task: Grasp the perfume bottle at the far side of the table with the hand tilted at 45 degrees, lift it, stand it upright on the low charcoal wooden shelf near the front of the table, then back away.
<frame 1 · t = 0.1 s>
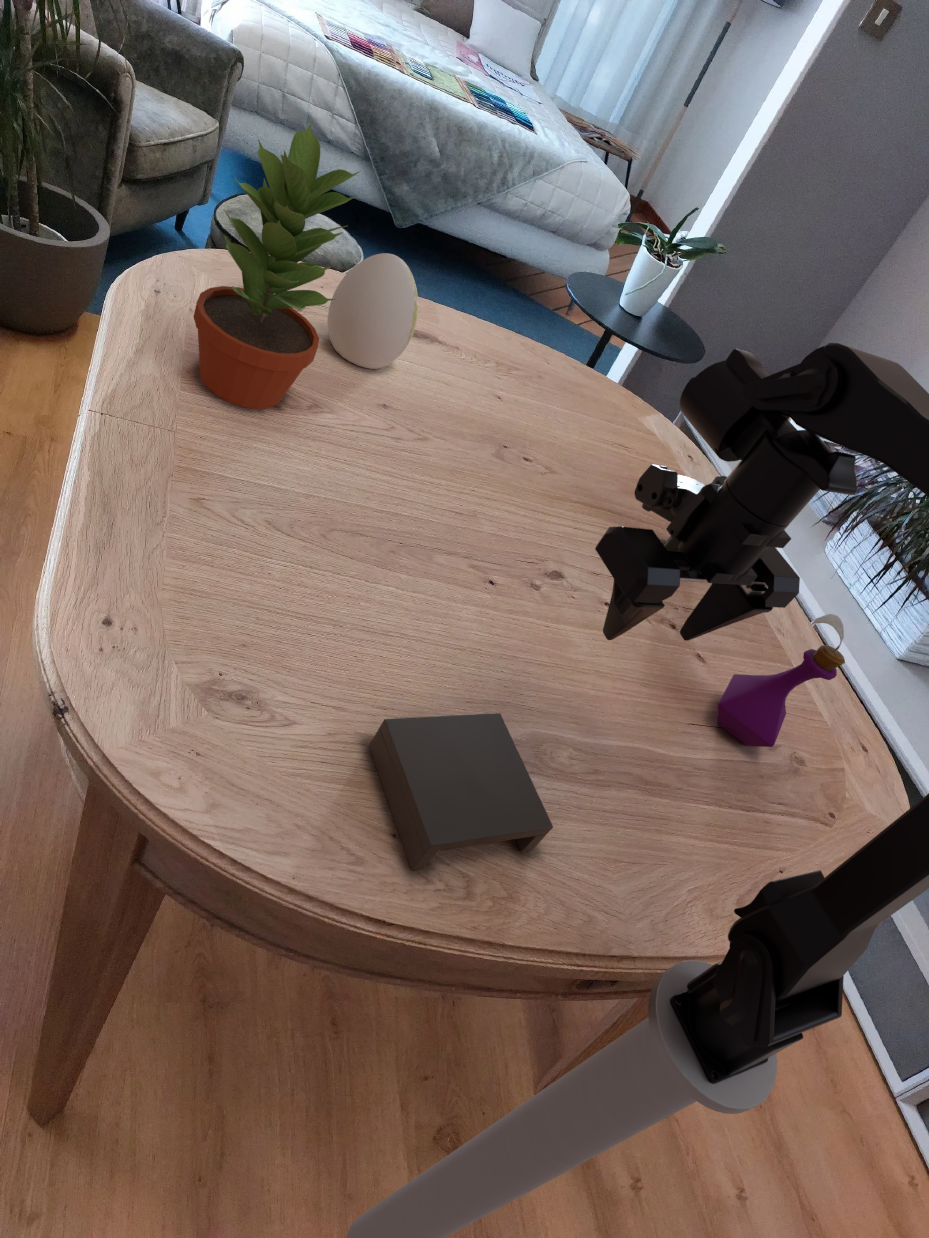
hand: (646, 636, 73), 17 cm above the table, tool pointing down, fingers open, 9 cm apart
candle: (675, 559, 121), on the table
decorative egg: (358, 354, 123), on the table
shelf: (449, 798, 73), on the table
perfume bottle: (734, 726, 99), on the table
potted plant: (243, 387, 104), on the table
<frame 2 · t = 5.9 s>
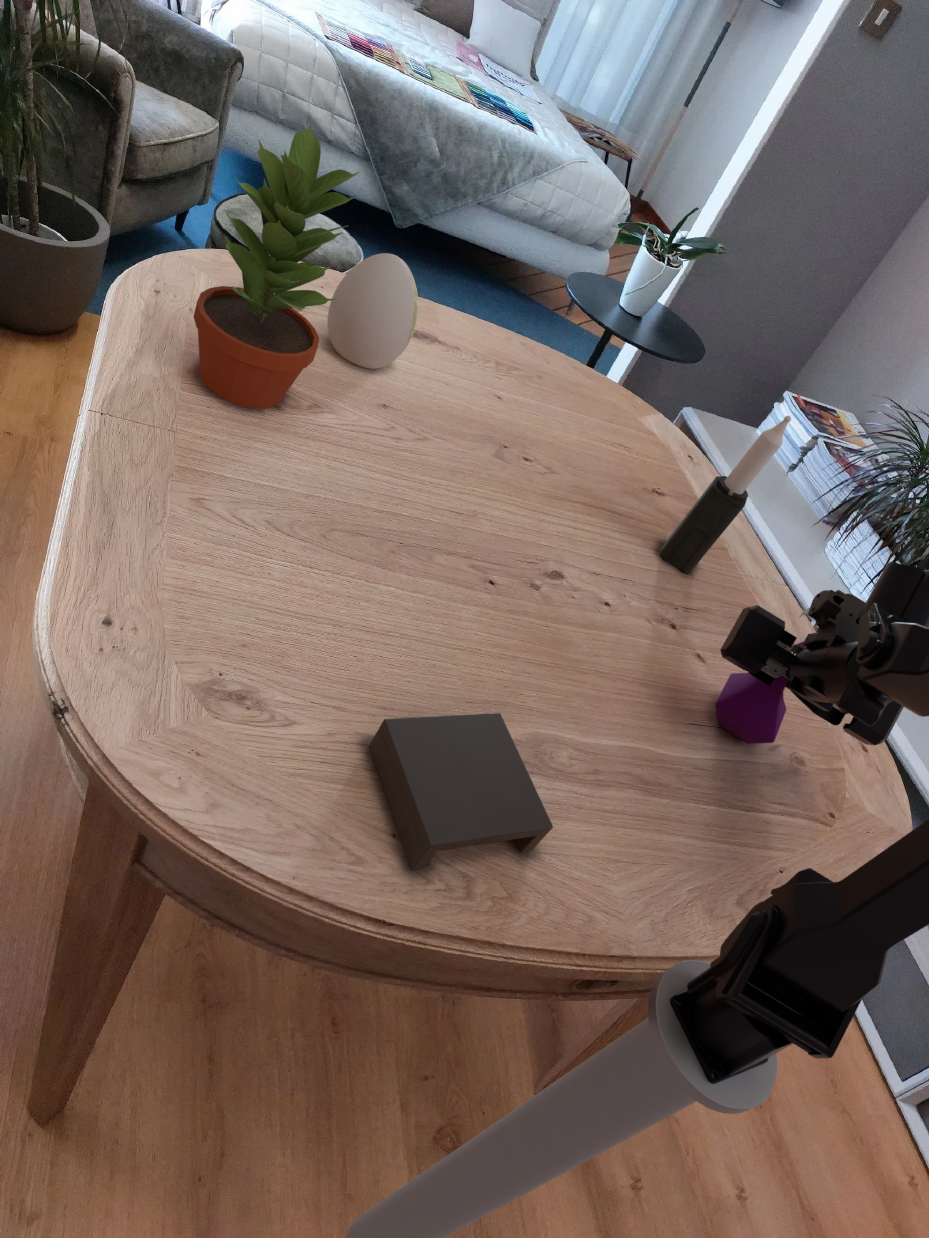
hand: (777, 677, 95), 8 cm above the table, tool tilted 45°, fingers closed on perfume bottle, 4 cm apart
perfume bottle: (735, 725, 99), on the table, touching gripper
everything else where it was.
when the fingers open (12 cm above the table, at t = 14.8 s): perfume bottle stays where it is, resting on shelf.
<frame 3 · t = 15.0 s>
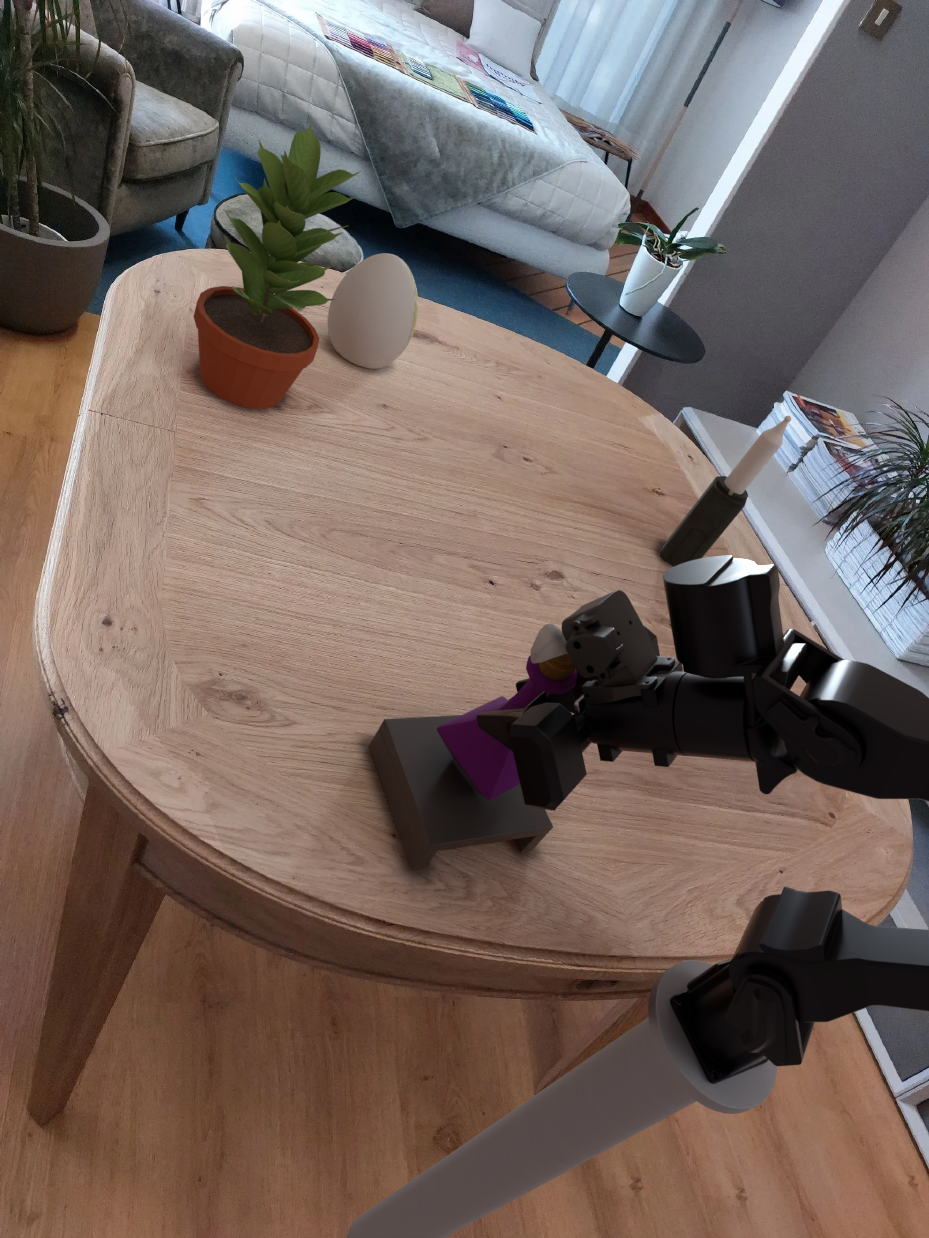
hand: (498, 703, 66), 12 cm above the table, tool tilted 45°, fingers open, 5 cm apart
perfume bottle: (483, 766, 72), point 4 cm above the table, touching gripper, shelf
everything else where it was.
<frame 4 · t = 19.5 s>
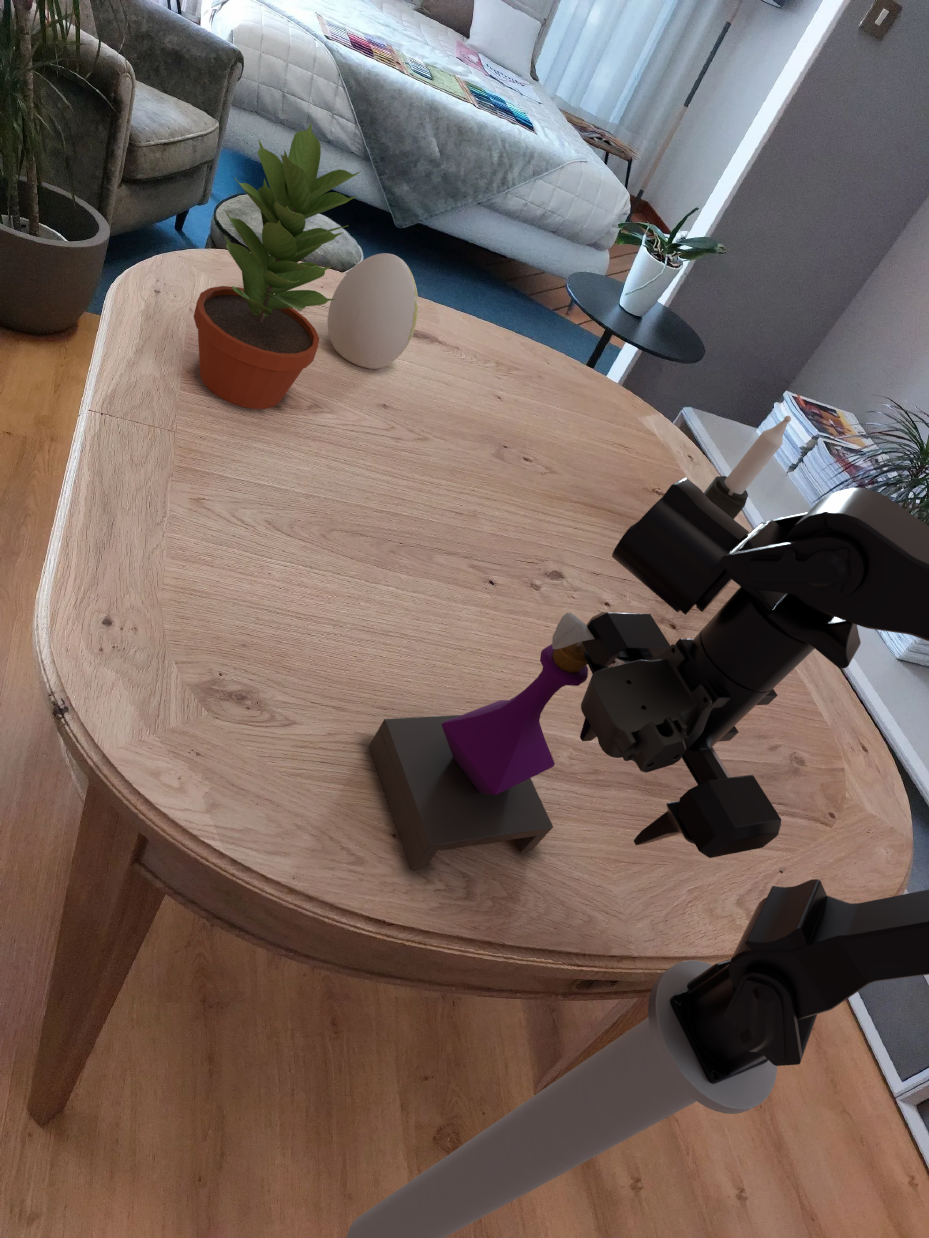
hand: (610, 788, 63), 13 cm above the table, tool pointing down, fingers open, 9 cm apart
at the end: perfume bottle inside the target area on the shelf (1.6 cm from its centre), point 3.9 cm above the shelf's base; perfume bottle tilted 1° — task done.
